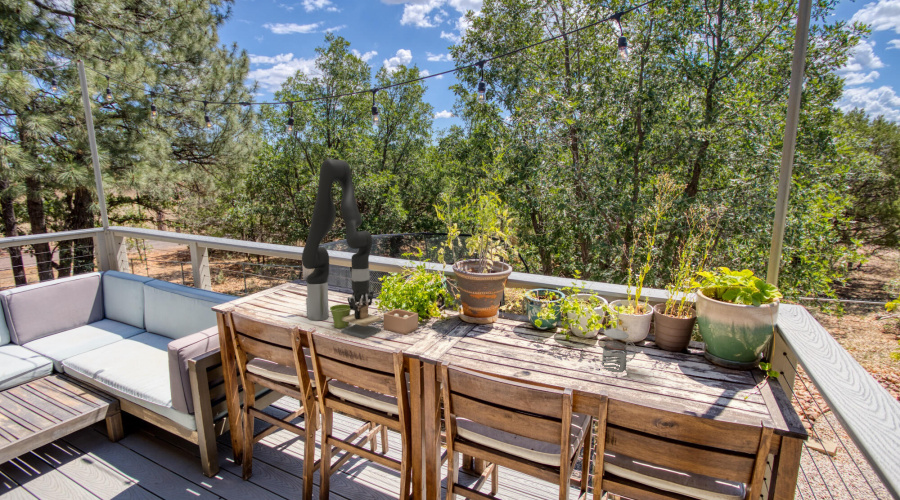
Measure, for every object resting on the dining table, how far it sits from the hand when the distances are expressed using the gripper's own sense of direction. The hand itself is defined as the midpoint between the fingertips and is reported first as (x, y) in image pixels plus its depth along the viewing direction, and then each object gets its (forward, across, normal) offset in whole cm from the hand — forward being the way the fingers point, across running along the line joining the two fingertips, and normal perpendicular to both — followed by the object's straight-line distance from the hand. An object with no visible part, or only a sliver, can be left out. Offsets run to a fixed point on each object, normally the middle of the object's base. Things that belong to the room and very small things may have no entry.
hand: (361, 317), depth 179 cm
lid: (+1, 0, 0) cm, 1 cm away
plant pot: (+7, 0, -12) cm, 14 cm away
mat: (+6, 0, 0) cm, 6 cm away
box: (+7, -12, +12) cm, 18 cm away
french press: (+7, -21, +100) cm, 102 cm away
